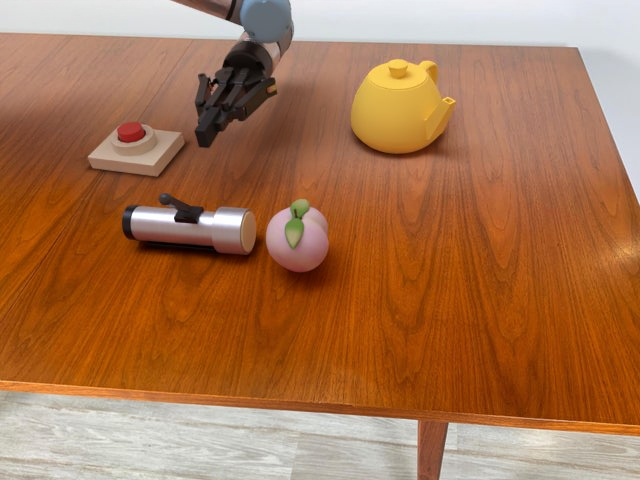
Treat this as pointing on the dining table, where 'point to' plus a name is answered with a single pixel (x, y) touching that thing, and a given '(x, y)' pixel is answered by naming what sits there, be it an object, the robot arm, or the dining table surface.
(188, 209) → the flashlight switch
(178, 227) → the flashlight
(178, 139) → the beige dock base
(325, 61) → the dining table surface
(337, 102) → the dining table surface
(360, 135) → the teapot
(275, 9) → the robot arm
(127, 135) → the dock button
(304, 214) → the decorative fruit
